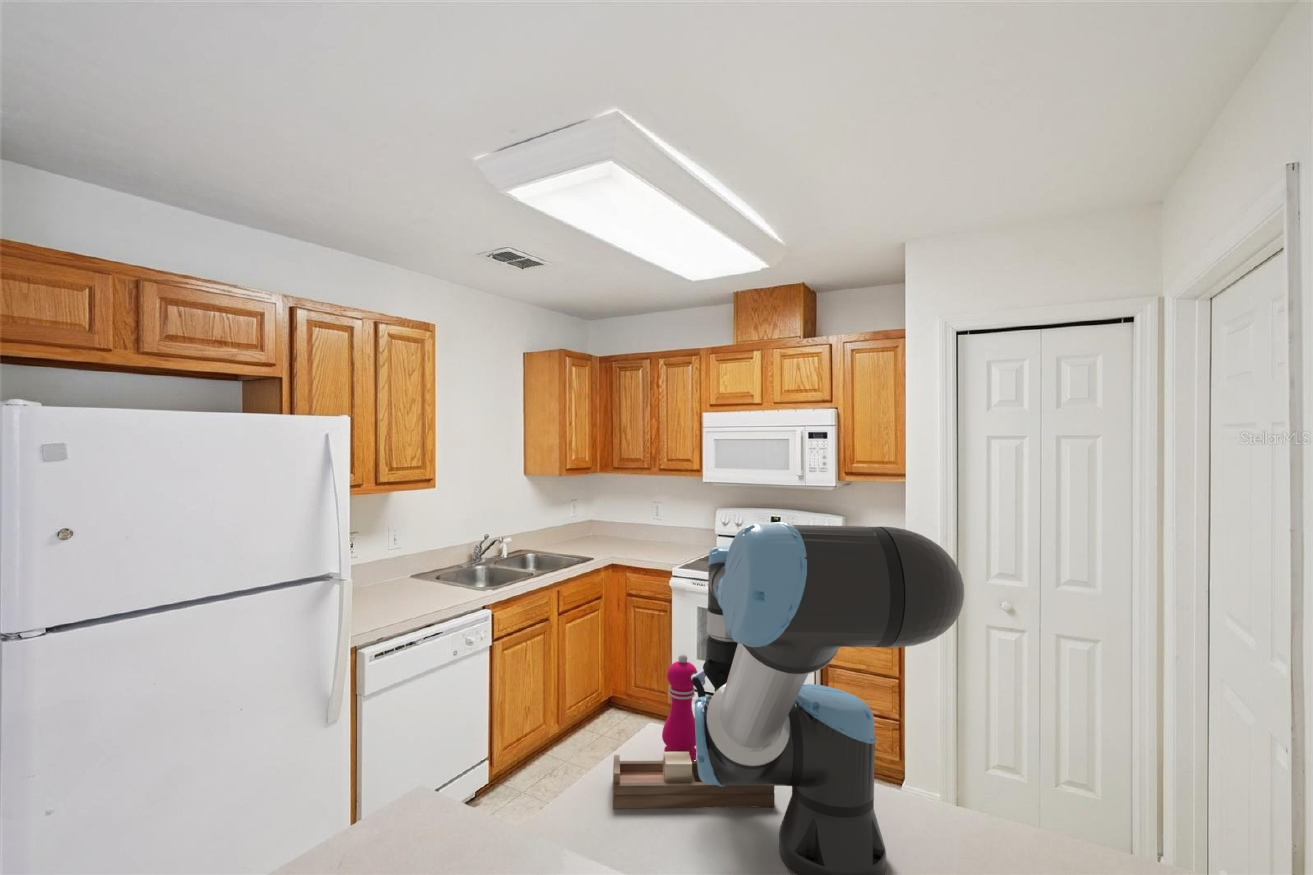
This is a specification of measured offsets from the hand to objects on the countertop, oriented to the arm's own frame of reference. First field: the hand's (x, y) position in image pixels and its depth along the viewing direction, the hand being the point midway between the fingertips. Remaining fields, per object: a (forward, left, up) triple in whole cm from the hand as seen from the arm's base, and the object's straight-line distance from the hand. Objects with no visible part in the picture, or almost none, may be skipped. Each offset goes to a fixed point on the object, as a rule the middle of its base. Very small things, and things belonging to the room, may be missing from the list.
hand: (724, 772), depth 106 cm
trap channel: (0, +6, -3) cm, 7 cm away
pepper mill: (+12, +6, -4) cm, 14 cm away
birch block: (0, +8, -1) cm, 8 cm away
